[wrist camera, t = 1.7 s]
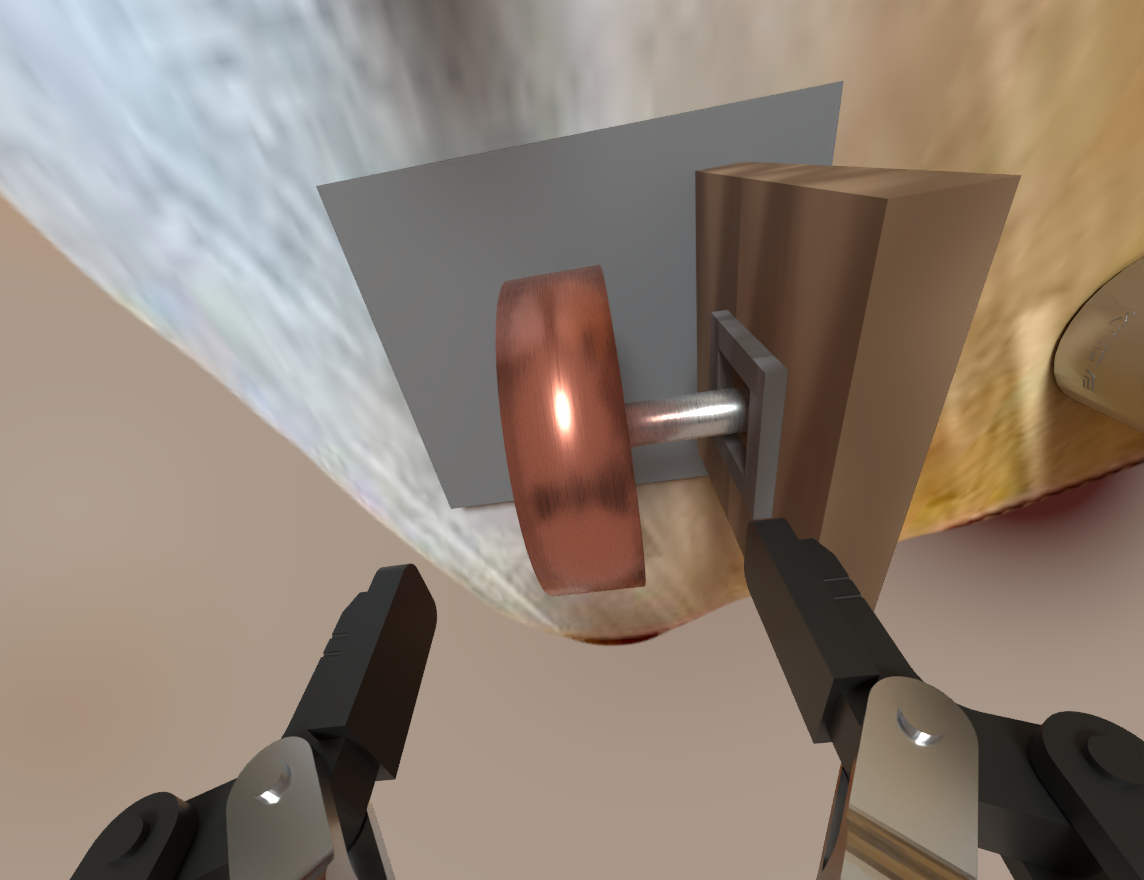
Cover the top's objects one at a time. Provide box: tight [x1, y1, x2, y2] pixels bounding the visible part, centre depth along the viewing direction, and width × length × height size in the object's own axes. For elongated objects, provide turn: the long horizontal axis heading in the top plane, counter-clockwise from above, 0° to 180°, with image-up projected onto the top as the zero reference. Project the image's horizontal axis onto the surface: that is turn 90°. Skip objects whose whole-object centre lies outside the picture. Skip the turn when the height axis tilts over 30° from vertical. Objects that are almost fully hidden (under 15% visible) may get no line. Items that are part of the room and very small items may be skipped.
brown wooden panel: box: [695, 162, 1021, 612], centre depth 16 cm, size 3×14×13 cm, turn 9°
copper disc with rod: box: [495, 265, 750, 596], centre depth 16 cm, size 14×11×11 cm
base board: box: [316, 81, 843, 509], centre depth 23 cm, size 21×18×2 cm
